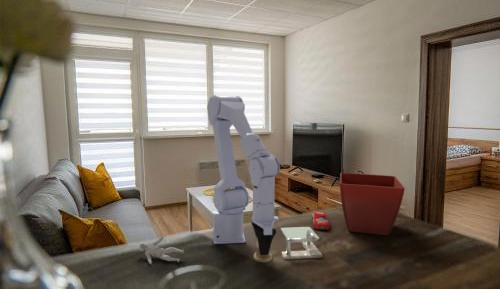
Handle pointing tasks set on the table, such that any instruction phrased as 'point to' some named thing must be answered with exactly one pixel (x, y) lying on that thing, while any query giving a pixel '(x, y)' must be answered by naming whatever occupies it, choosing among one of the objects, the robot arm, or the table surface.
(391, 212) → the plant pot
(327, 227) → the race car
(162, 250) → the soldier figure
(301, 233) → the sage mat
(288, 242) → the wire frame
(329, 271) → the table surface
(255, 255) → the ringed peg
